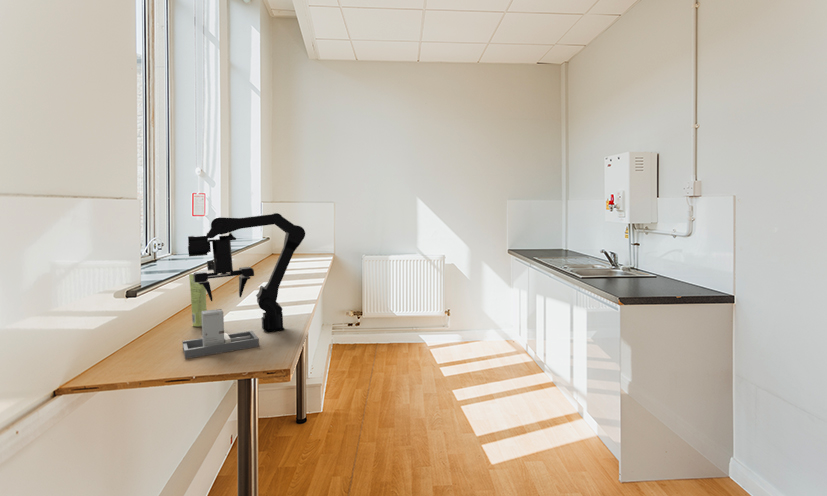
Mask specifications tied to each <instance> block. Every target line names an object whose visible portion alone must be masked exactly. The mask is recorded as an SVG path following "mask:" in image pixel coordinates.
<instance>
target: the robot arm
mask: <svg viewBox="0 0 827 496" xmlns="http://www.w3.org/2000/svg"><path fill="white" fill-rule="evenodd" d="M272 225H275V226H276V227H278V228H279V229H280V230H282V232H284V233H285V235H284V239H283V240H284V241H283V247H282V249H281V251H280V254H279V257H278V258H277V261H276V263H275V266H274V268H273V270H272V272H271V275H270V277H269V279H268V281H267V283H266V284H265V285H260V287H259V291H258V293H257V294H256V295H255V296H256V302H257V305H258V307H259V309H260V310H262V311H264V312H262V316H261V329H262V330H263V331H264V332H265V333H272V332H278V331H284V330H285V327H284V320H283V308H282V306H281V305H280V304H279V303H278V301H277V298H278V296H279V294H278V293H279V288H280V285H281V283H282V280H283V279H284V278H283V277H284V276H285V274H286V271H287V269H288V267H289V264H290V262H291V260H292V257H293V255H294V254H295V251H296V250H297V248H298V247H299V246H301V244H302V242H303V240H304V239H305V238H306V230H305V228H304V227H302V226H301V225H296V224H294V223H292V222H291V221H289V220H288V219H286V218H285V217H284V216H282V214H281V213H276V212H273V213H271V214H262V215H256V216H254V215H252V216H246V217H228V216H227V217H223V216H221V217H220V216H217V217H215V218H213V220H211V224H210V229H209V231H208V232H206V235H196V236H195V235H188V237H187V238H188V246H187V250H188V252H187V253H188V257H200V256H201V257H203V256H208V253H211V250H212V254H213V260H207V261H206V266H207V270H204V271H195V272H193V273H192V274H193V279H194V282H198V283H199V284H200V285H202V284H203V286H204V287H205V289H206V294H207V296H208V297H209V300H210V302H213V295H212V290H211V289H212V287H211V283H210V281H209V279H216V278H217V279H218V278H227V277H236V276H238V281H239V282H238V283H239V284H238V296H239V298H242V295H243V293H244V292H243V291H244V289H245V286H246V284H247V282H248V280H250V279H251V277H254V276H255V270H254V268H253V267H251V266H243V267H242V266H241V267H239V269H236V270H235V269H233V257H232V254H233V253H232V245H231V241H237V237H235V236H234V235H233V234H232V233H231V232H234V231H238V230H242V229H247V228H249V229H250V228H256V227H263V226H272ZM225 234H228V235H225ZM218 235H219V236H218ZM217 236H218V238H215V237H217ZM214 238H215V239H214ZM211 243H212V249H211ZM207 271H208V272H207ZM209 271H210V273H209ZM211 271H212V272H211Z"/></svg>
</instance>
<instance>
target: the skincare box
mask: <svg viewBox="0 0 827 496" xmlns="http://www.w3.org/2000/svg"><path fill="white" fill-rule="evenodd" d="M206 310H207V309H206ZM201 315H202V326H201V331H202V333H201V335H202V337H201V338H203V347H204V346H210V345H216V344H222V343H224V333H225V324H224V323H225V322H224V321H225V319H224V317H225V316H224V311H223V309H222V308H218V309H209V310H207V311H201Z"/></svg>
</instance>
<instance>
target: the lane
mask: <svg viewBox="0 0 827 496" xmlns="http://www.w3.org/2000/svg"><path fill="white" fill-rule="evenodd" d="M227 334H228V336H229V337H230V339H231V338H237V337H244V336H250V337H251V339H247V340H241V341H235V342H229V343H222V344H216V345H210V346H204V347H203V338H202V337H200V338H195V339H187V340H186V339H185V340H182V350H183V354H184V359H192V358H198V357H203V356H204V357H205V356H209V355H216V354H220V353H221V354H222V353H227V352H233V351H239V350H244V349H250V348H251V349H252V348H257V347H260V338H259V336H257V335H256V333H255V331H253V330H248V331H246V330H245V331H241V332H233V333H227Z"/></svg>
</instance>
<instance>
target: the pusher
mask: <svg viewBox="0 0 827 496" xmlns="http://www.w3.org/2000/svg"><path fill="white" fill-rule="evenodd" d="M228 334H229V333H227V332H224V343H229V342H235V341H241V340H247V339H251V337H250V336H244V337H237V338H231V339H230V337H229V336H228Z"/></svg>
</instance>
